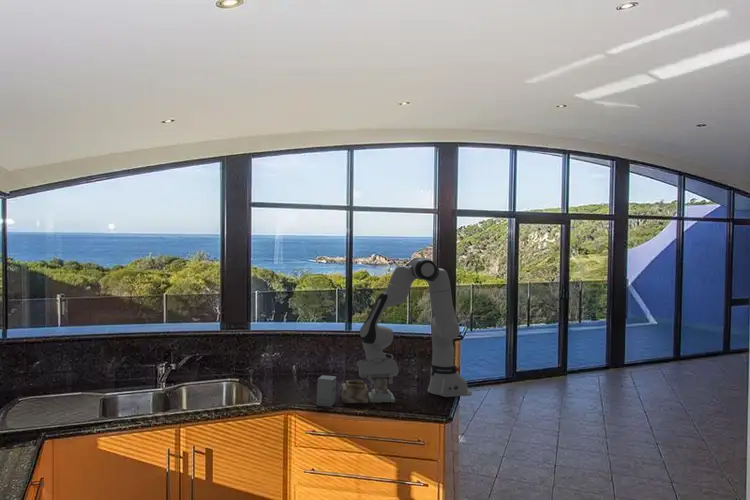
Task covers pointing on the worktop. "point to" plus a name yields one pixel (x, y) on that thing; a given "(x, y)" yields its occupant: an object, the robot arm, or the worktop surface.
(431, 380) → the robot arm
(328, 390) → the supplement box
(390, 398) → the sage socket plate
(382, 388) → the cream plug block
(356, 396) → the birch stand
